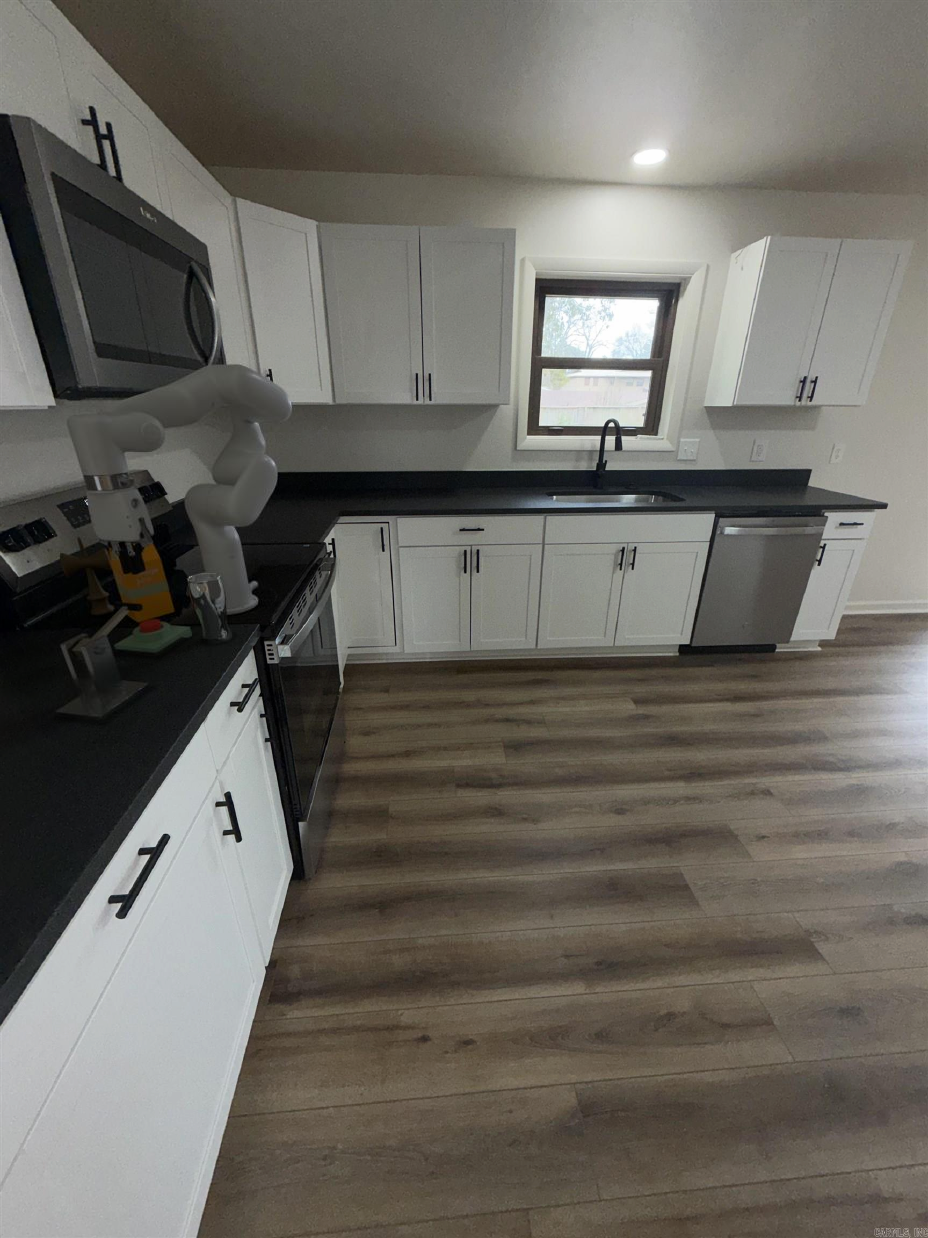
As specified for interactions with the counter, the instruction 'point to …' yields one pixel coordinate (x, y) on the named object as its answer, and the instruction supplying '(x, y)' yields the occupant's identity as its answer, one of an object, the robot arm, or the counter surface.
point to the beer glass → (210, 605)
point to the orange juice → (144, 586)
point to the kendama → (90, 576)
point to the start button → (150, 625)
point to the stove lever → (109, 624)
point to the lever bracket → (95, 678)
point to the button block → (153, 638)
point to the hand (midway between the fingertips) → (135, 571)
